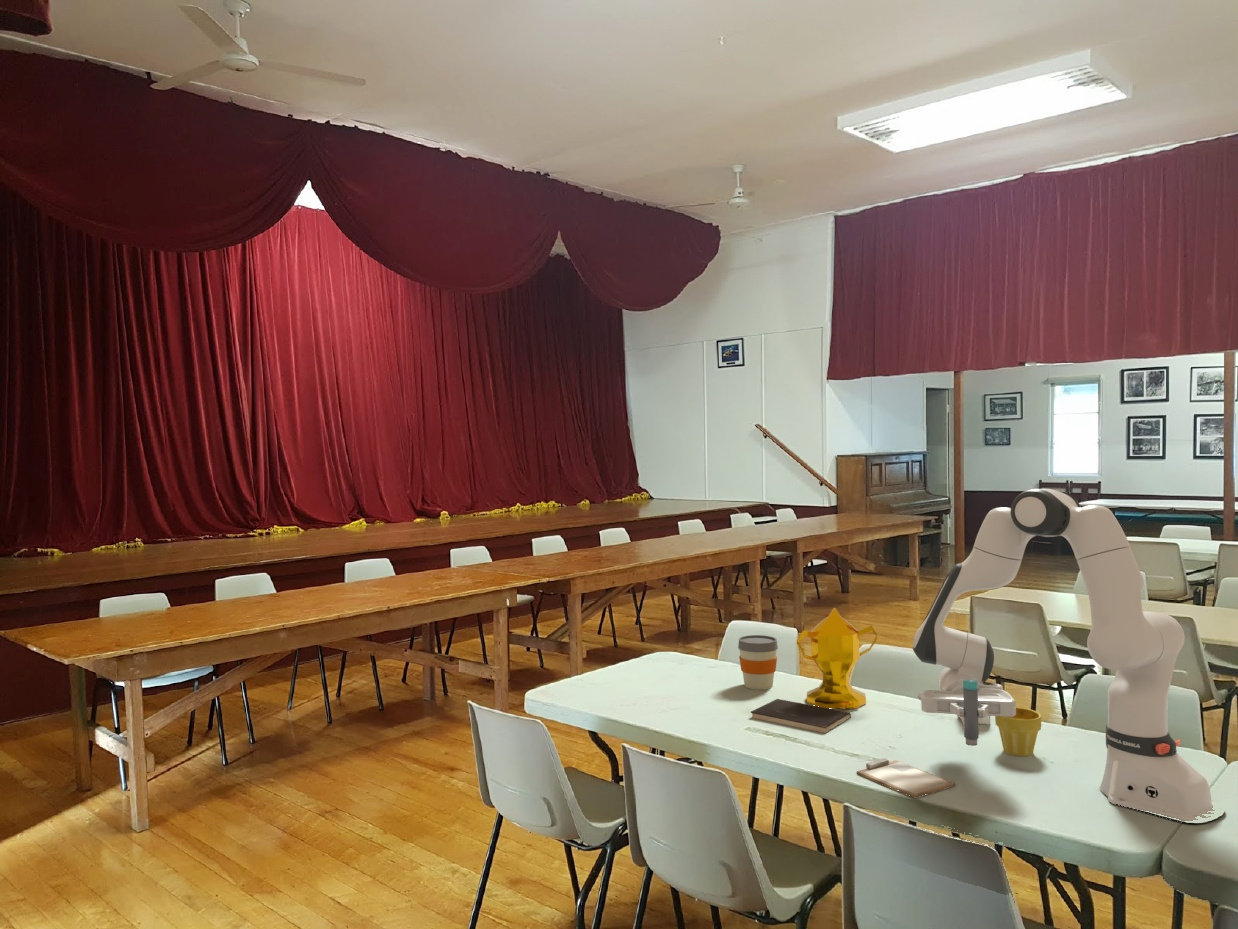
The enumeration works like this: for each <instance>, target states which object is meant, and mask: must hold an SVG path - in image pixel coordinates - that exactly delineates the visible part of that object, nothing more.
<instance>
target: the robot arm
mask: <svg viewBox="0 0 1238 929" xmlns="http://www.w3.org/2000/svg"><path fill="white" fill-rule="evenodd" d="M1036 536H1037V537H1039V536H1040V537H1045V538H1054V537H1063V538H1064V539H1066V541H1067V542H1068V543H1069V545H1070V547H1071V549H1072V551H1073V554H1074V557H1075V560H1076V563H1077V565H1078V568H1079V570H1080V573H1081V575H1082V578H1083V582H1084V585H1085V587H1086V590H1087V594H1088V599H1089V605H1090V617H1091V619H1090V620H1091V621H1090V622H1091V626H1090V631H1089V634H1088V636H1087V640H1086V646H1087V650H1088V653H1089V655H1090V657H1091V658H1092V660H1094V662H1095V663H1096V664H1097V665H1099V666H1100V667H1102V668H1104V669H1107V670H1110V671H1111V670H1113V671H1116V672H1115V674H1114V678H1113V680H1112V682H1111V684H1110V685H1109V687H1108V689H1107V724H1106V725H1105V746H1106V749H1107V750H1106V751H1107V752H1106V760H1105V767H1104V771H1103V772H1104V773H1103V777H1102V780H1101V783H1100V786H1099V790H1100V791H1101V792H1102V794H1104V795H1105V796H1106V797H1107V799H1108V802H1109V803H1110V802H1111V804H1113V805H1116V804H1118V805H1117V806H1120V805H1121V806H1120V807H1123V806H1124V807H1123V808H1127V807H1129V808H1128V809H1130V808H1135V809H1138V810H1143V811H1149V812H1152V813H1156V814H1161V815H1164V816H1167V817H1171V818H1176V819H1179V820H1181V821H1193V820H1198V819H1196V818H1195V817H1197V816H1200V817H1202V818H1208V817H1211V816H1208V817H1206V816H1204V815H1202V814H1214V813H1211V812H1208V811H1215V810H1213V809H1212V808H1213V804H1216V803H1213V801H1214V800H1212V795H1211V789H1210V785H1209V782H1208V780H1207V779H1206V778H1205V776H1204V775H1202V774H1201V773H1200V772H1199V771H1197V770H1196V769H1195V767H1193V766H1192V765H1191V764H1189V762H1187V761H1186V759H1184V758H1183V757H1182V756H1181V755H1180V754H1179V753H1178V751H1177V747H1179V746H1180V745H1182V744H1181V738H1180V739H1176V740H1174V739H1173V737H1171V734H1170V733H1169V731H1168V702H1169V701H1168V699H1169V693H1170V692H1169V691H1170V686H1171V682H1172V679H1173V674H1174V669H1175V666H1176V662H1177V659H1178V658H1177V657H1178V655H1179V653H1180V652H1181V650H1182V648H1183V646H1184V644H1185V642H1186V641H1185V638H1186V637H1185V631H1184V629H1183V627H1182V625H1181V624H1180V622H1179V621H1178V620H1177V619H1176V618H1175V617H1173V616H1171V615H1169V614H1167V613H1163V612H1158V611H1147V610H1146V611H1144V610H1143V604H1142V589H1143V587H1144V578H1143V575H1142V573H1141V570H1140V568H1139V565H1138V563H1137V560H1136V557H1135V555H1134V553H1133V550H1132V547H1131V545H1130V542H1129V540H1128V538H1127V536H1126V534H1125V532H1124V530H1123V528H1122V526H1121V524H1120V523H1119V521H1118V519H1117V517H1116V516H1115V515H1114V513H1113V512H1112V510H1110V508H1108V507H1106V506H1103V505H1099V504H1098V505H1097V504H1089V505H1085V506H1082V507H1081V504H1080V503H1079V501H1078V500H1077V499H1076V498H1075V497H1074V496H1072V495H1071V494H1069V493H1067V492H1065V491H1058V490H1056V489H1052V488H1032V489H1027V490H1024V491H1022V492H1021V493H1020V494H1018V495H1017V496H1016V497H1015V499H1013V502H1012V503H1011V507H1006V506H1005V507H1004V506H1003V507H1002V506H1000V507H995V508H992V509H991V510H989V512H988V513H987V514H986V515H985V517H984V519H983V521H982V523H981V526H980V528H979V530H978V533H977V534H976V537H975V540H974V541H975V542H974V544H973V547H972V550H971V552H970V554H969V555H968V556H967V557H966V559H965V560H964V561H962V562H959V563H956V564H954V565H953V566H952V568H950V570H949V571H948V573H947V575H946V576H945V578H944V580H943V582H942V584H941V586H940V588H939V590H938V592H937V594H936V596H935V597H934V599H933V602H932V604H931V606H930V608H929V609H928V612H927V614H926V616H925V617H924V619H923V621H922V623H921V625H920V626H919V627H918V629H917V630H916V632H915V634H914V636H913V639H912V651H913V653H914V654H915V656H916V657H917V658H918V660H920V662H922V663H926V664H930V665H936V666H937V665H938V666H940V667H944V668H943V669H942V670H941V672H940V675H939V679H938V680H939V681H938V683H939V684H938V686H939V689H925V690H923V691H921V693H918V694H917V699H918V700H919V701H920V703H921V704H920V705H921V706H920V708H921V711H922V712H925V713H927V714H943V715H944V714H945V715H946V714H947V715H956V717H958V718H960V717H964V704H963V680H975V681H978V718H985V717H986V716H990V717H995V716H1003V717H1013V716H1015V715H1016V707H1017V704H1016V700H1015V699H1014V697H1013V696H1012V695H1011V694H1010V693H1009V692H1008V691H1007V690H1004V687H1003V685H1002V684H999V683H992V682H987V680H989V679H990V676H991V674H992V670H993V667H994V661H995V653H994V648H993V646H992V644H991V643H990V641H989V639H988V638H987V637H984V636H981V635H977V634H974V633H972V632H968V631H967V632H966V631H962V630H958V629H957V628H952V627H948V626H946V625H944V622H945V620H946V619H947V618H948V617H947V616H948V615H949V613H950V612H951V610H952V607H953V605H954V603H955V601H956V600H957V598H958V597H960V596H961V595H962V594H965V593H967V592H973V591H974V592H975V591H982V590H983V591H986V590H994V589H995V590H996V589H998V588H1002V587H1005V586H1006V585H1008V584H1010V583H1011V582H1013V581H1014V579H1015V578H1016V577H1017V574H1018V573H1019V570H1020V567H1021V565H1022V561H1023V557H1024V555H1025V554H1024V553H1025V550H1026V547H1027V544H1028V543H1029V541H1030V540H1031V539H1032V538H1035V537H1036ZM1138 810H1137V811H1138ZM1207 812H1208V813H1207Z"/></svg>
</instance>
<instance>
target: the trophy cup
mask: <svg viewBox="0 0 1238 929" xmlns="http://www.w3.org/2000/svg"><path fill="white" fill-rule="evenodd" d="M870 632H873V634H874V635H875V637H874V638H873V640H872V643H871V645H870V646H869V647H868V648H866V649H865V650H862V651H861V652H860V636H862V635H864V634H867V633H870ZM804 637H808V638H811V656H810V655H806V654H805V652H804V650H803V647H802V646H801V645H800V644H801V643H800V642H801V641H802V640H803V639H804ZM877 640H878V633H877V631H876V630H875V628H874V627H873V625H872V624H871V625H869V626H866V627H863V628H861V629H859V630H858V628H856V627H855V626H854V625H853V624H851V623H850V622H849V621H848V620H846V619H845V618H844V617H842V616H841V614H840V613H839V611H838V610H837V608H835V607H833V608H832V609H831V611H830V613H829V615H828V616H827V617H825V618H823V619H822V620H821V621H820V622H819V623H818V624H816V625H815V626H814V627H813V628H811V631H809V630H803V629H802V632H800V635H799V636H798V638H797V640H796V646H797V647H798V649H799V650H800V652H801V655H802V656H803V658H804V659H806V660H811V661H813V662H815V664H816V666H817V668H818V669H819V670H820V671H821V673H822V674H821V675H822V682H820V684H819V686H818V687H814V688H813V689H809V690H808V691H806V703H807V702H808V703H807V704H809V703H810V704H809V705H815V706H819V707H823V708H841V709H840V710H844V709H843V708H852V709H859V708H860V707H859V706H861V705H863V706H865V705H867V697H866V696H867V695H866V693H864V692H863V691H860V690H857V689H856V688H854V687H853V686H852V685H851V683H850V673H851V672H852V670H853V669H854V667H855V666H856V664H857V662H858V661H859V659H860V657H861V656H863V655H865V654H866V653H868V652H869V651H871V649H872V648H873V646H874V645H875V644H876V642H877ZM864 704H865V705H864ZM861 707H862V706H861Z"/></svg>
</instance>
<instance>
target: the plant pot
mask: <svg viewBox="0 0 1238 929" xmlns="http://www.w3.org/2000/svg"><path fill="white" fill-rule="evenodd" d="M994 718H995V719H994V720H995V725H996V726H997V727H998V731H999V735H1000V740H1001V744H1002V749H1003V751H1004V752H1005V753H1006V754H1008V755H1011V756H1015V757H1029V756H1031V755H1033V754H1034V750H1035V745H1036V741H1037V737H1038V733H1039V732H1040V730H1042V714H1041V713H1040V712H1038V711H1035V710H1033V709H1030V708H1027V707H1020V706H1019V707H1018V706H1016V715H1015V716H1013V717H1003V716H994Z"/></svg>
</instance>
